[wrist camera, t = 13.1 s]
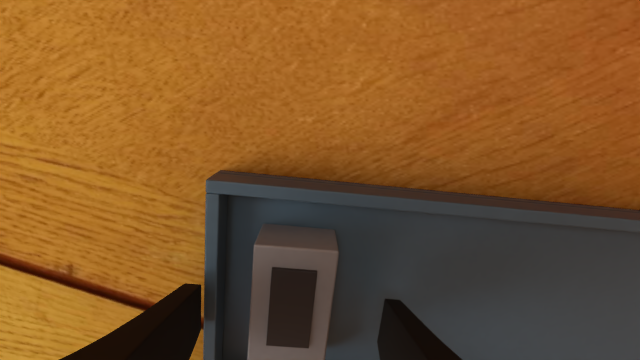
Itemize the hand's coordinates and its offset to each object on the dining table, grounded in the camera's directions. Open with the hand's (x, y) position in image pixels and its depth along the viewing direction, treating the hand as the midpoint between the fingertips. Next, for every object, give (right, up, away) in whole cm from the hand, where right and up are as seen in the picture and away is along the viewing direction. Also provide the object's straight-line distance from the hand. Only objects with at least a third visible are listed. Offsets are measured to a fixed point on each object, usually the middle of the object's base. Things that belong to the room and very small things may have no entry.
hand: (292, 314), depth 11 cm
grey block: (0, 0, +1) cm, 2 cm away
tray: (+9, 0, +2) cm, 10 cm away
